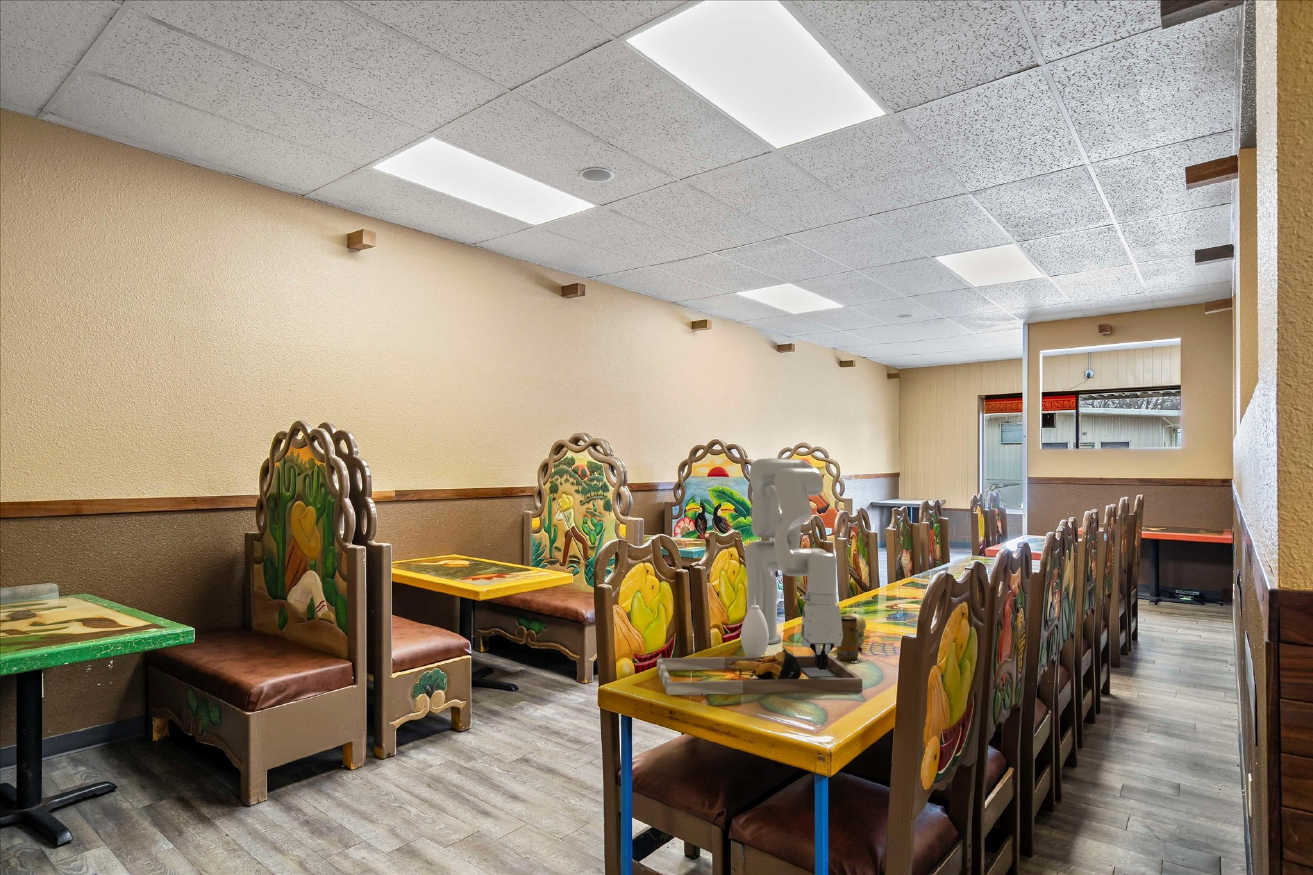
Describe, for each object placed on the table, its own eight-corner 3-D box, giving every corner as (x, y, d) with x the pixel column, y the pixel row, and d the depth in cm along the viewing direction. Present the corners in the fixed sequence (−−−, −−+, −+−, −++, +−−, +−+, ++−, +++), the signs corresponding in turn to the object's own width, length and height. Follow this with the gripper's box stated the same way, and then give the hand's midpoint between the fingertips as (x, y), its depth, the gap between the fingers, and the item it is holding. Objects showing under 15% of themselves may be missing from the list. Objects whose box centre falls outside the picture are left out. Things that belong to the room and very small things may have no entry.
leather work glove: (806, 671, 182) (738, 645, 183) (791, 703, 186) (725, 678, 187) (806, 649, 190) (742, 625, 192) (792, 680, 194) (729, 656, 196)
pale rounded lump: (859, 644, 228) (859, 606, 228) (870, 650, 220) (870, 611, 221) (836, 645, 226) (837, 607, 227) (846, 651, 219) (846, 611, 220)
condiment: (845, 653, 216) (845, 613, 217) (869, 660, 210) (869, 618, 210) (830, 657, 212) (830, 616, 212) (854, 664, 205) (854, 622, 206)
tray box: (656, 669, 197) (657, 658, 197) (830, 665, 203) (830, 655, 203) (667, 695, 175) (667, 683, 175) (862, 691, 181) (862, 678, 181)
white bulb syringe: (755, 663, 204) (756, 600, 205) (735, 658, 210) (736, 596, 210) (773, 659, 209) (774, 596, 210) (753, 653, 215) (753, 593, 216)
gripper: (798, 602, 187) (798, 673, 187) (853, 601, 189) (853, 672, 188) (790, 596, 195) (789, 665, 194) (843, 596, 197) (842, 664, 196)
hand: (821, 668), depth 191 cm, fingers closed
